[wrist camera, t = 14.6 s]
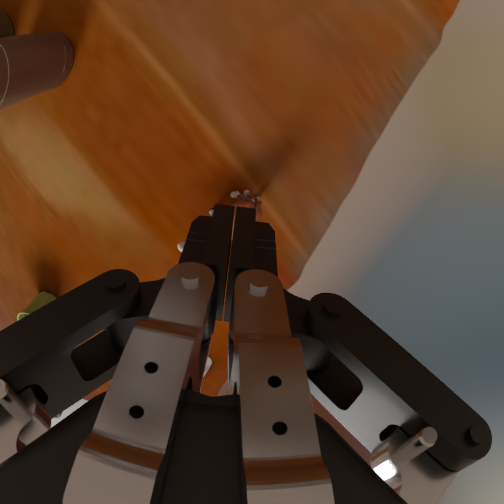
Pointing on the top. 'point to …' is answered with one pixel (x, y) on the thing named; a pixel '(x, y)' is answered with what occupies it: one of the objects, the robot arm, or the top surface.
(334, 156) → the top surface
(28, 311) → the plant pot
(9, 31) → the wooden container
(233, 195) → the bull figurine
